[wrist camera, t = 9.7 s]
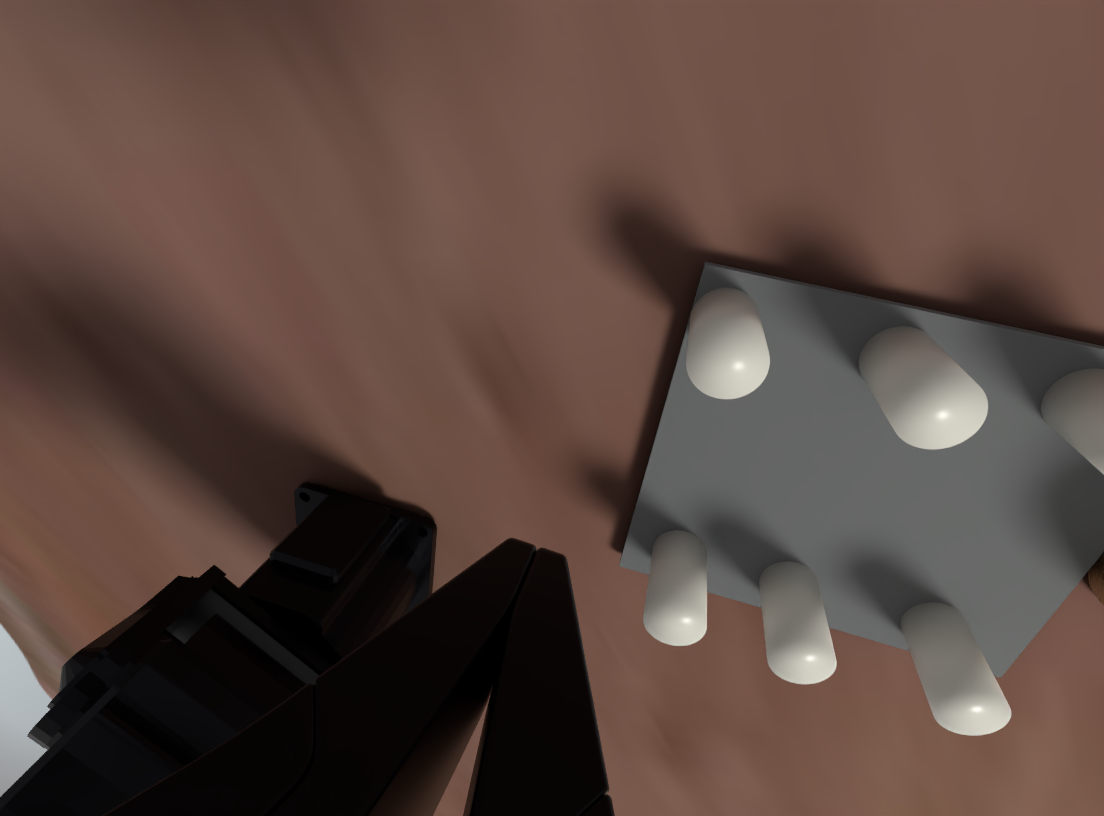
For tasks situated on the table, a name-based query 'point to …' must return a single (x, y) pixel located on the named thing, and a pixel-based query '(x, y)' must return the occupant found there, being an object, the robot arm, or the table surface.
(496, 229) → the table surface
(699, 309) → the spacers
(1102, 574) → the knob
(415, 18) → the table surface
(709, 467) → the mat
